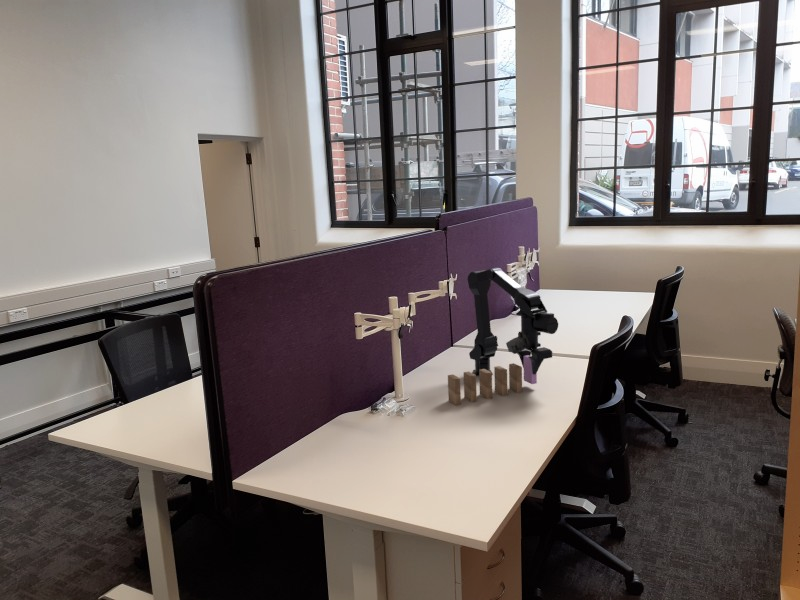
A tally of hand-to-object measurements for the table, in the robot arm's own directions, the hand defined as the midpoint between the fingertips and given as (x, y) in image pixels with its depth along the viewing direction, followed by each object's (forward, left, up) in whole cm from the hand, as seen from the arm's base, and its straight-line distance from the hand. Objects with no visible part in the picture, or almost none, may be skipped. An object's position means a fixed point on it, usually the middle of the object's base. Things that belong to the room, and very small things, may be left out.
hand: (529, 372), depth 215 cm
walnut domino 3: (+6, -17, -6) cm, 19 cm away
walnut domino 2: (+8, -23, -6) cm, 25 cm away
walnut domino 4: (+4, -11, -6) cm, 13 cm away
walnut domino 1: (+10, -28, -6) cm, 31 cm away
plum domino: (0, 0, -4) cm, 4 cm away
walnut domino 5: (+2, -6, -6) cm, 8 cm away
